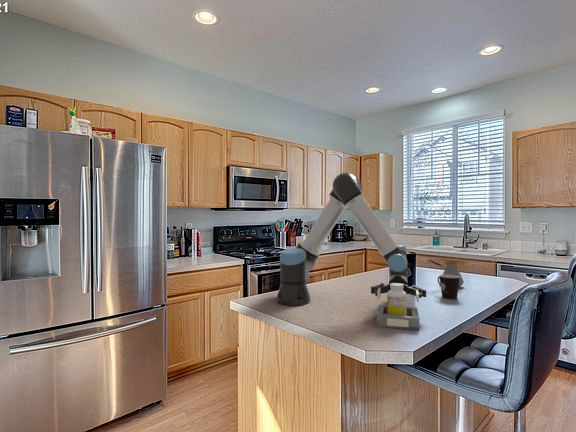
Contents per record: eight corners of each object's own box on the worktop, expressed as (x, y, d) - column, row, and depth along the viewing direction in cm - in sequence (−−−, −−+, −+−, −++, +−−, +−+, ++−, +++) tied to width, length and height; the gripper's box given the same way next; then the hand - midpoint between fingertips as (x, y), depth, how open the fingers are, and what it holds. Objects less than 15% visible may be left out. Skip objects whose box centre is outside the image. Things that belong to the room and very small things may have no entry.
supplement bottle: (391, 315, 128) (391, 281, 128) (409, 318, 124) (409, 283, 124) (384, 319, 123) (384, 284, 123) (402, 323, 119) (402, 286, 118)
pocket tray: (376, 326, 118) (376, 315, 118) (378, 314, 132) (378, 304, 132) (419, 330, 114) (419, 318, 114) (417, 318, 128) (416, 307, 128)
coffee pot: (451, 283, 188) (451, 256, 188) (468, 287, 178) (468, 259, 178) (420, 286, 181) (420, 258, 181) (436, 291, 171) (436, 261, 170)
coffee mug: (462, 300, 152) (462, 278, 152) (441, 299, 154) (441, 277, 154) (454, 294, 164) (454, 273, 164) (436, 293, 165) (435, 273, 165)
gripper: (430, 295, 138) (435, 309, 118) (367, 291, 146) (362, 304, 126) (430, 277, 138) (435, 288, 118) (367, 274, 146) (362, 284, 126)
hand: (397, 296), depth 122 cm, fingers open, 13 cm apart
